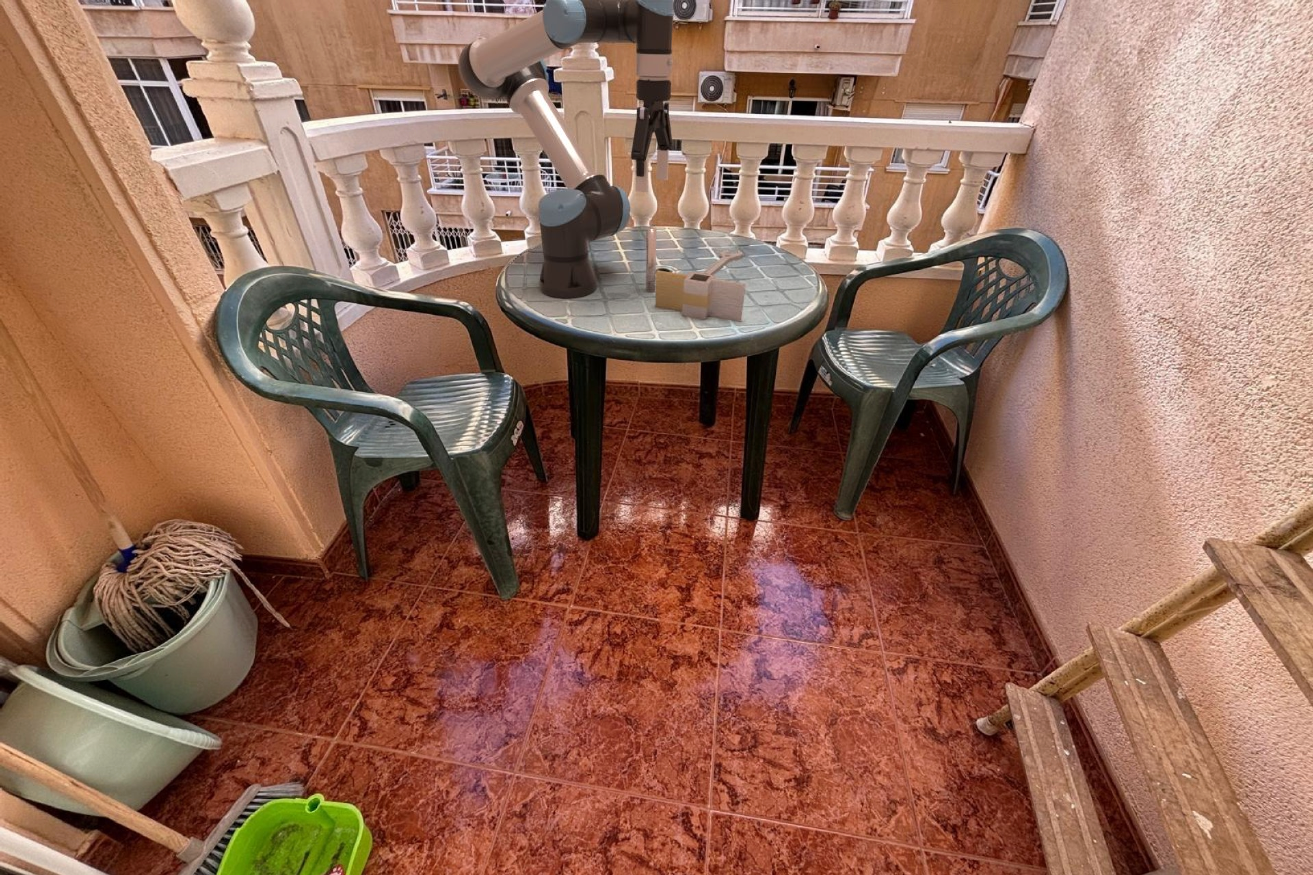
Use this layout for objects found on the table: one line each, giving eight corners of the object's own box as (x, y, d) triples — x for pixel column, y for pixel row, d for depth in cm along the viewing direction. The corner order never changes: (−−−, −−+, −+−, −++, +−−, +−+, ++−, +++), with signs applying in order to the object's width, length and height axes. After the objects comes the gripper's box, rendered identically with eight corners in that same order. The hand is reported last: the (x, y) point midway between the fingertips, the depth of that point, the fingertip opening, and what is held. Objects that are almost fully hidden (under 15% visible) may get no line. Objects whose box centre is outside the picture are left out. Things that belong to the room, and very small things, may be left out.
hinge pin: (644, 291, 142) (644, 229, 132) (648, 288, 144) (648, 227, 134) (653, 292, 141) (654, 231, 132) (656, 289, 143) (657, 228, 134)
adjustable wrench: (706, 282, 150) (707, 276, 149) (687, 277, 153) (687, 271, 151) (744, 257, 167) (745, 251, 166) (726, 253, 169) (726, 247, 168)
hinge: (651, 310, 132) (652, 275, 127) (660, 301, 137) (661, 267, 131) (737, 325, 126) (742, 289, 121) (743, 315, 131) (748, 280, 125)
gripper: (648, 83, 104) (647, 198, 117) (688, 76, 122) (683, 177, 135) (613, 81, 106) (616, 195, 119) (657, 75, 124) (656, 174, 137)
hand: (652, 185), depth 127 cm, fingers open, 13 cm apart
